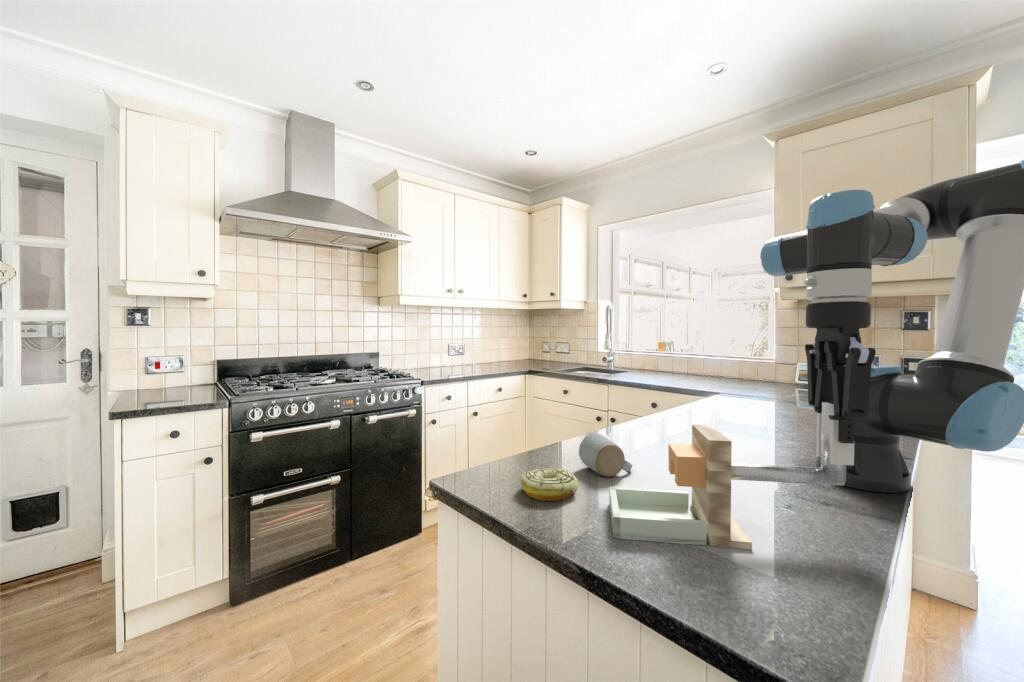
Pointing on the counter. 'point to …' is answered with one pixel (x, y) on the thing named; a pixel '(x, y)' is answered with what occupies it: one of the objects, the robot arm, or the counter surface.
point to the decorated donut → (549, 484)
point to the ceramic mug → (602, 455)
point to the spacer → (687, 465)
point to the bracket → (716, 490)
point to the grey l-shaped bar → (793, 474)
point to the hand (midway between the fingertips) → (834, 459)
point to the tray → (654, 516)
